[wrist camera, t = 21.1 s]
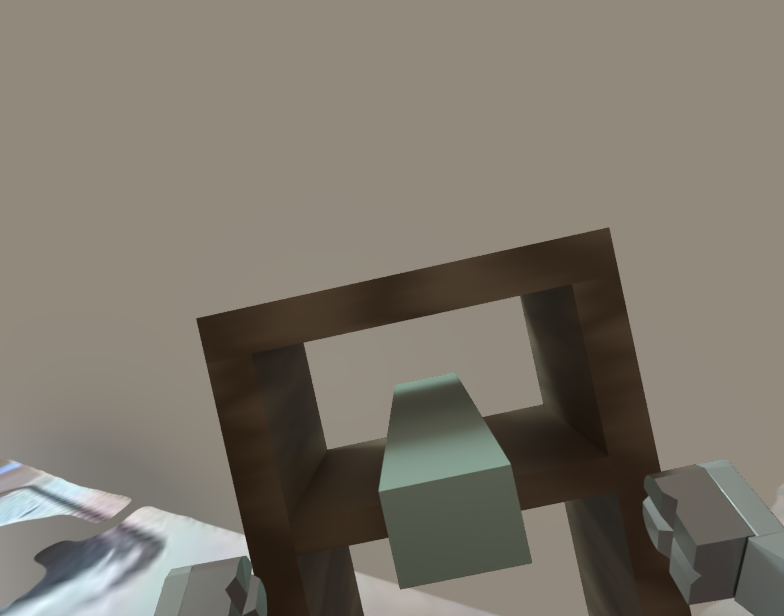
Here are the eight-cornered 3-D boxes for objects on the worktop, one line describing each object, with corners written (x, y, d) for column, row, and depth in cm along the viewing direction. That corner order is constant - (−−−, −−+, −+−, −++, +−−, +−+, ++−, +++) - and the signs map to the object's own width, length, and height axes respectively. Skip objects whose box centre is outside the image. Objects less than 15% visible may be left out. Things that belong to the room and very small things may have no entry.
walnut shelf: (629, 651, 34) (543, 249, 34) (735, 822, 23) (609, 227, 23) (352, 705, 35) (264, 311, 34) (326, 896, 24) (196, 318, 23)
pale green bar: (464, 417, 35) (455, 372, 35) (532, 563, 16) (511, 464, 16) (404, 429, 35) (394, 385, 35) (400, 589, 16) (378, 491, 16)
